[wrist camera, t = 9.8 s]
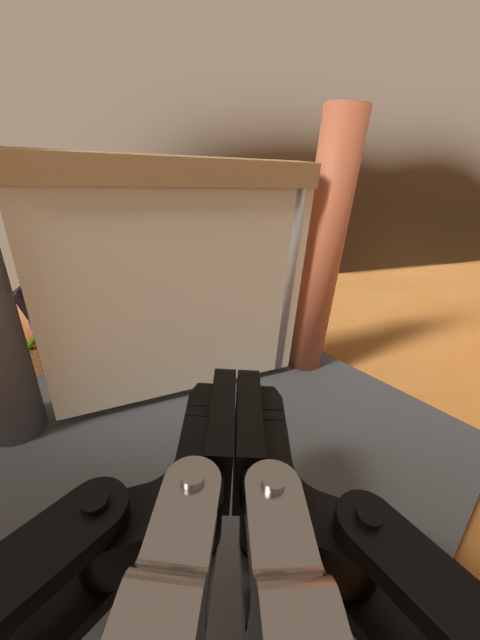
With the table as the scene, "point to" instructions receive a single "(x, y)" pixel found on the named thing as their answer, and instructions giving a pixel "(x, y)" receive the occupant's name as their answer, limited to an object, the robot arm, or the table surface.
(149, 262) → the panel
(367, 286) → the table surface
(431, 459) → the board
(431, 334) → the table surface
